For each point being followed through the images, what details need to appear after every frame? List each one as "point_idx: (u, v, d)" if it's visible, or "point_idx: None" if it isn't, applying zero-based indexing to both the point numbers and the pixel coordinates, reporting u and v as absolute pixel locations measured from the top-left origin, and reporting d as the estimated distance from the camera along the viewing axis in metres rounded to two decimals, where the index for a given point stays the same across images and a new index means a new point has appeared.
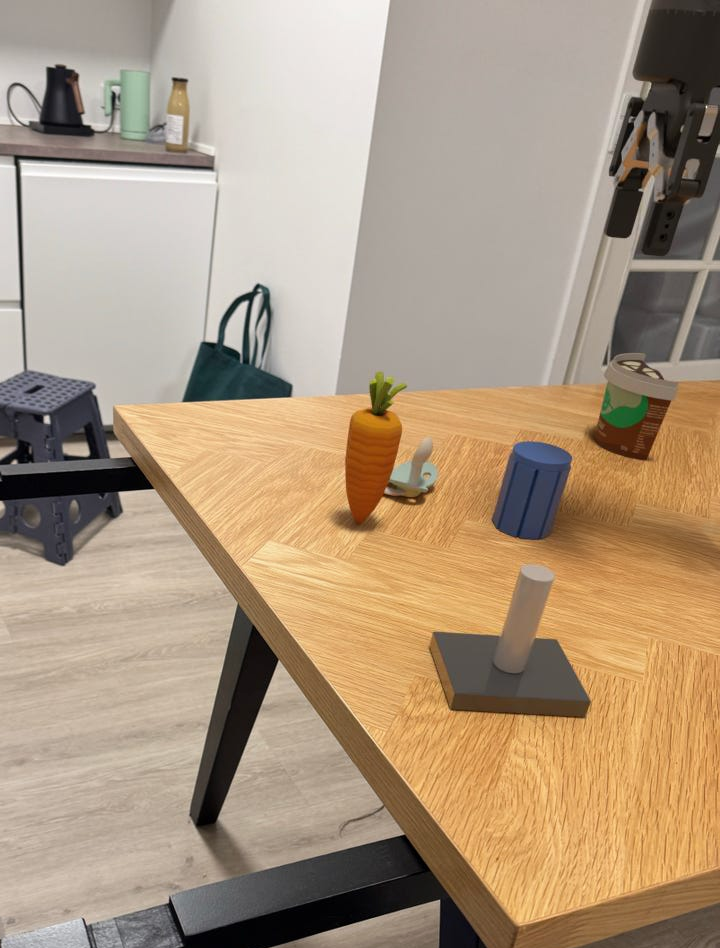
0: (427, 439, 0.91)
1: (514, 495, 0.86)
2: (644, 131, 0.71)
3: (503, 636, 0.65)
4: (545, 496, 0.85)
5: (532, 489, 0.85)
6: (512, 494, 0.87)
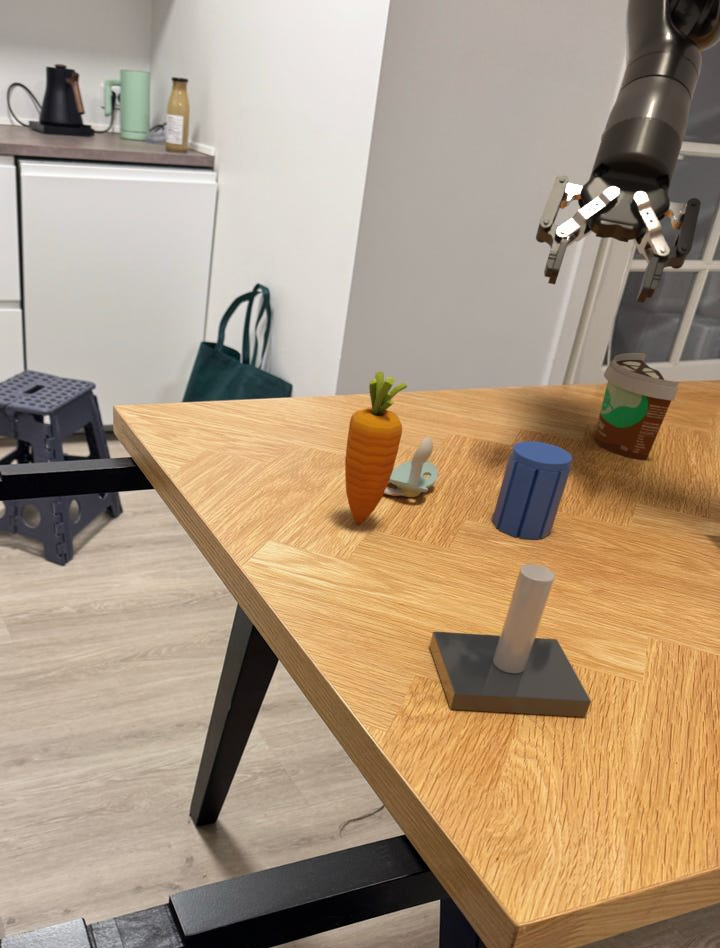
0: (427, 439, 0.91)
1: (514, 495, 0.86)
2: None
3: (503, 636, 0.65)
4: (545, 496, 0.85)
5: (532, 489, 0.85)
6: (512, 494, 0.87)
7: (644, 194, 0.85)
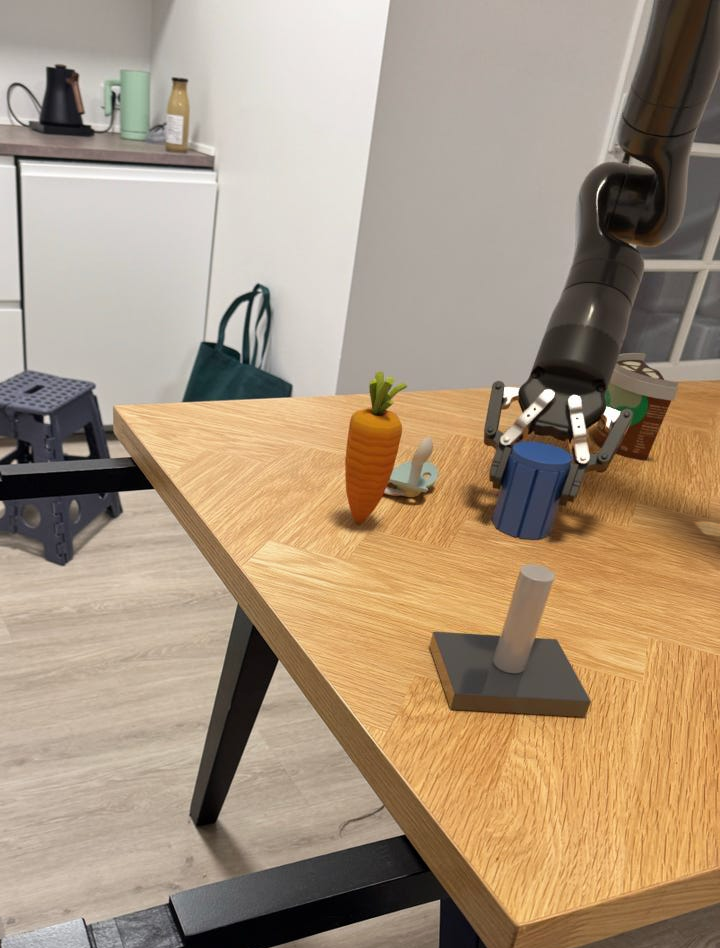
0: (427, 439, 0.91)
1: (514, 495, 0.86)
2: None
3: (503, 636, 0.65)
4: (545, 496, 0.85)
5: (532, 489, 0.85)
6: (512, 494, 0.87)
7: (579, 399, 0.86)
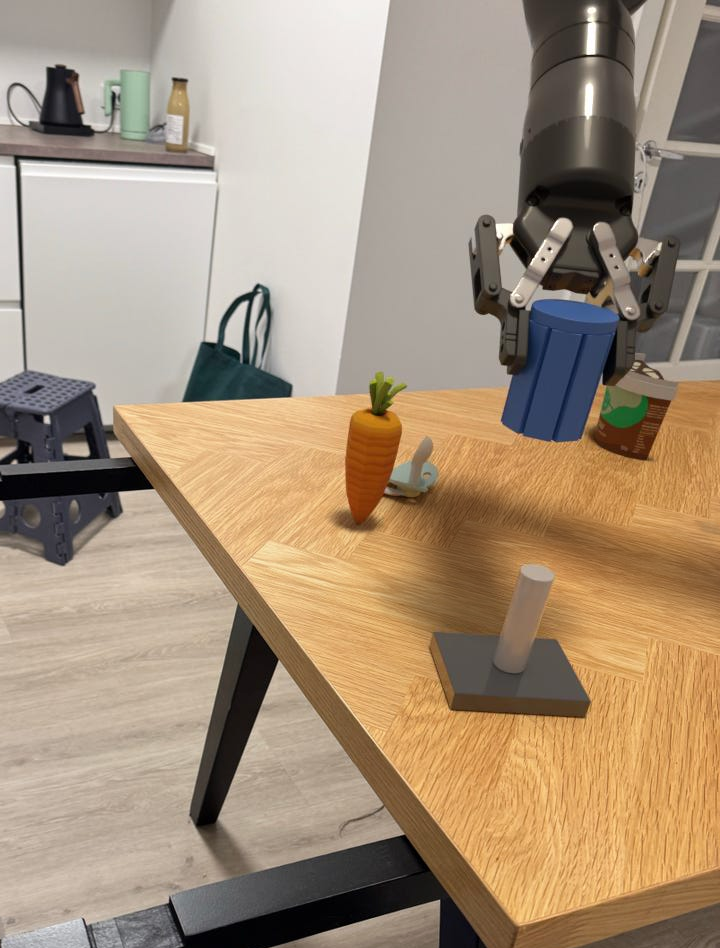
0: (427, 439, 0.91)
1: (548, 379, 0.58)
2: None
3: (503, 636, 0.65)
4: (592, 374, 0.58)
5: (575, 366, 0.58)
6: (544, 378, 0.58)
7: (607, 227, 0.59)
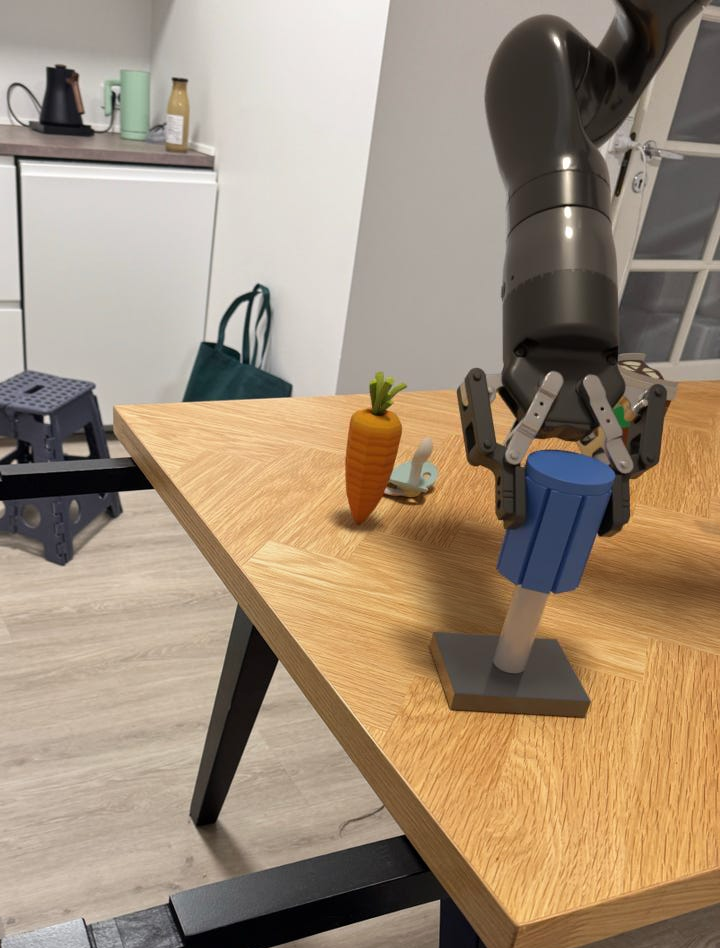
0: (427, 439, 0.91)
1: (547, 536, 0.58)
2: None
3: (503, 636, 0.65)
4: (590, 530, 0.58)
5: (574, 524, 0.57)
6: (543, 535, 0.58)
7: (597, 380, 0.58)
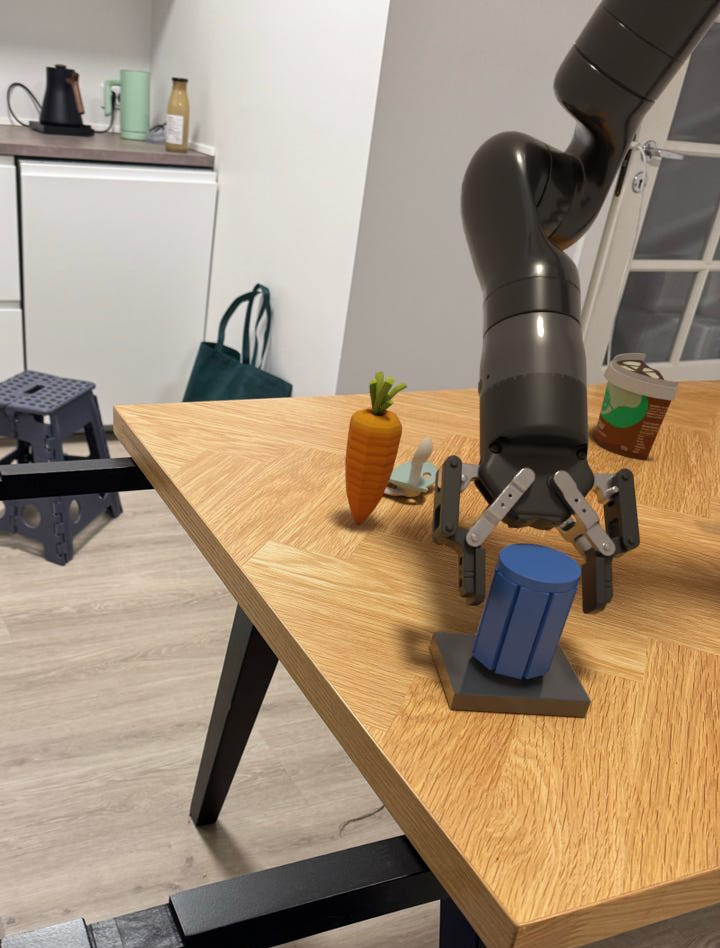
0: (427, 439, 0.91)
1: (518, 628, 0.62)
2: None
3: None
4: (558, 622, 0.62)
5: (543, 617, 0.61)
6: (514, 627, 0.62)
7: (566, 474, 0.62)
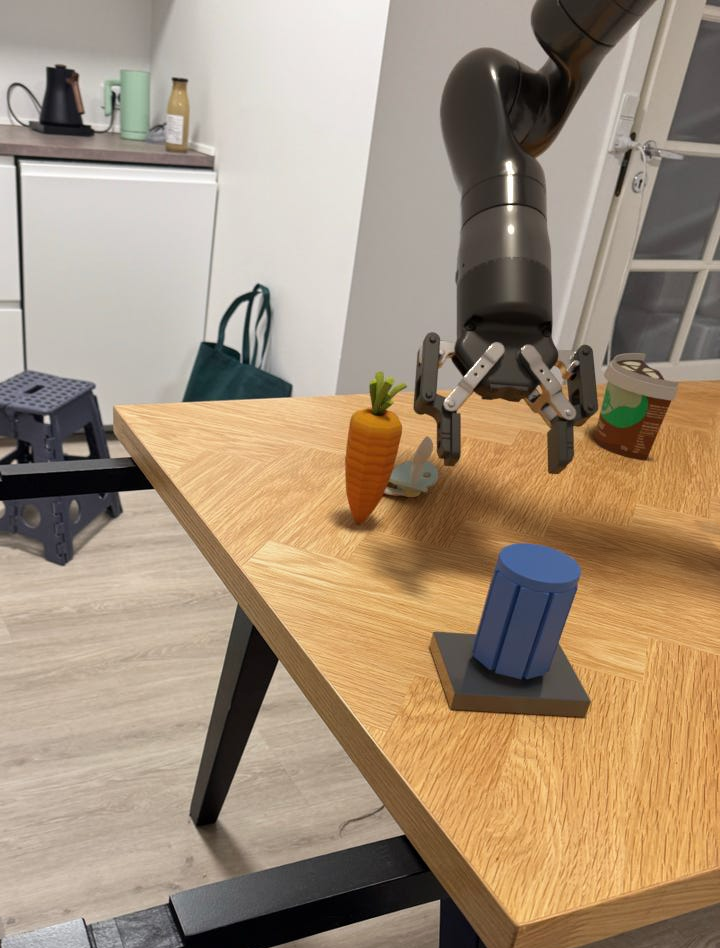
0: (427, 439, 0.91)
1: (518, 628, 0.62)
2: None
3: None
4: (558, 622, 0.62)
5: (543, 617, 0.61)
6: (514, 627, 0.62)
7: (532, 348, 0.70)
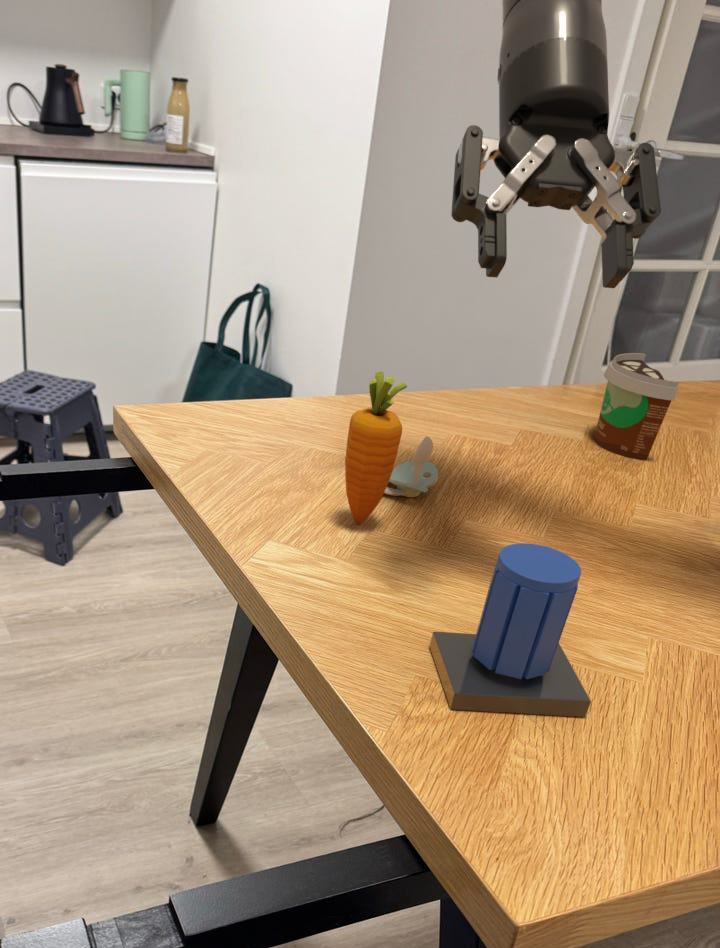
0: (427, 439, 0.91)
1: (518, 628, 0.62)
2: None
3: None
4: (558, 622, 0.62)
5: (543, 617, 0.61)
6: (514, 627, 0.62)
7: (587, 142, 0.62)
